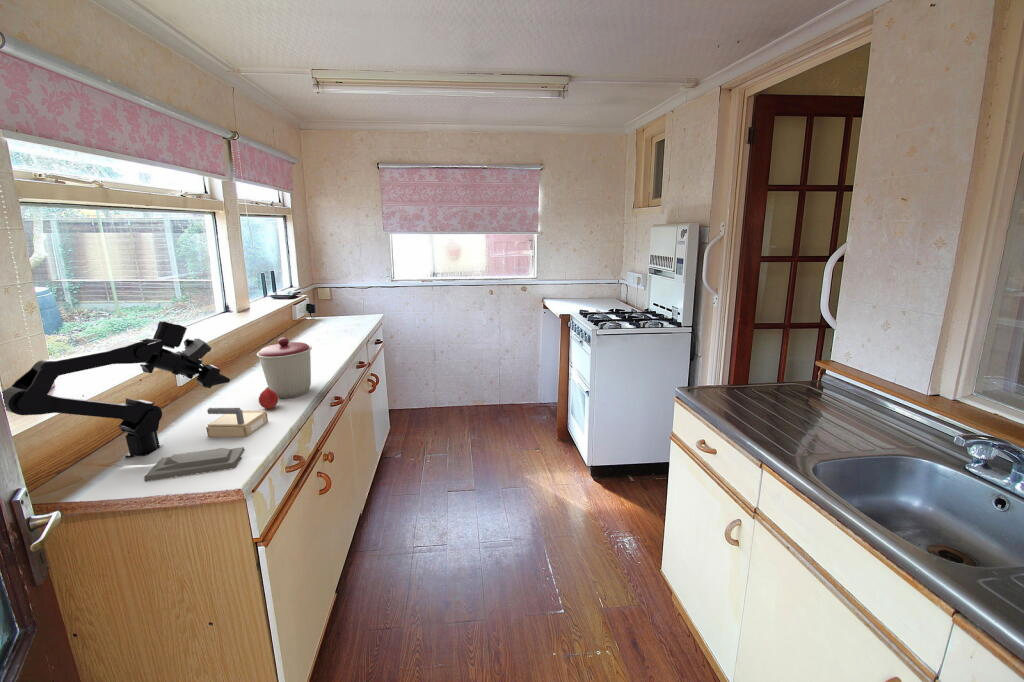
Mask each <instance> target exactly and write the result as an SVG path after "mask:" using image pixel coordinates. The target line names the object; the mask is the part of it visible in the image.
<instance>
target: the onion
mask: <svg viewBox="0 0 1024 682" xmlns="http://www.w3.org/2000/svg"><path fill="white" fill-rule="evenodd" d="M258 403H259V405H260V406H261V407H262V408H264V409H267V410H271V409H274V408H275V406H277V404H278V403H279V398H278V395H277V394H276V393H275V392H274V391H272V390H270V389H269V387H268V386H267V387H265V389H264V390H263V391H261V392H260V395H259V396H258Z"/></svg>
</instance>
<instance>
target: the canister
mask: <svg viewBox="0 0 1024 682" xmlns="http://www.w3.org/2000/svg"><path fill="white" fill-rule="evenodd" d="M312 348H313V347H312V346H311V345H310V344H308V343H306V342H301V341H292V342H291V341H289V338H288V337H280V338H279V339H278V340H277V343H275V344H270V345H268V346H265V347H263V348H262V349H261V350H260V351H258V352H257V353H256V356H257V357H258V358H259V361H260V365H261V367H262V371H263V375H264V378H265V381H266V384H267V387H269V389H270V390H272V391H274V392H275V393H276V394H277V395H278V399H287V398H295V397H299V396H302V395H304V394H305V393H307V392H308V391H309V390H310V388H311V385H312V382H311V381H312V380H311V379H312V369H311V368H312V367H311V366H312V365H311V364H312V363H311V362H312V361H311V358H312V357H311V351H312Z"/></svg>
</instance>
